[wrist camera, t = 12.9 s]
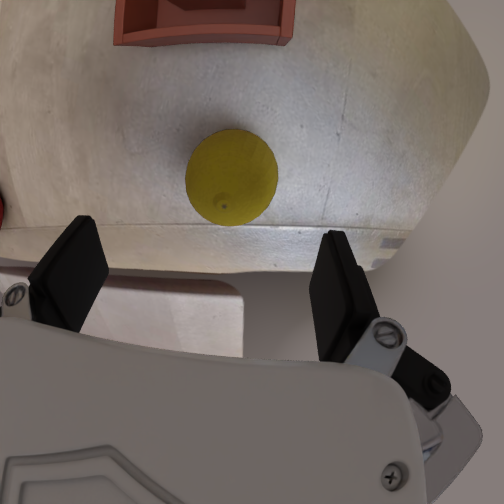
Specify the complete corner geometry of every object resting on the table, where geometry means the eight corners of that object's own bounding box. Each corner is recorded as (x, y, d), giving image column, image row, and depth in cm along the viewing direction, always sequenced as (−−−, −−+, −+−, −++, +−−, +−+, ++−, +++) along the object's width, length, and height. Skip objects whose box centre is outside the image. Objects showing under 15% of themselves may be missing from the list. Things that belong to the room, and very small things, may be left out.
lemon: (248, 199, 22) (241, 267, 16) (188, 164, 20) (152, 219, 14) (291, 146, 19) (305, 195, 13) (226, 104, 17) (202, 129, 11)
